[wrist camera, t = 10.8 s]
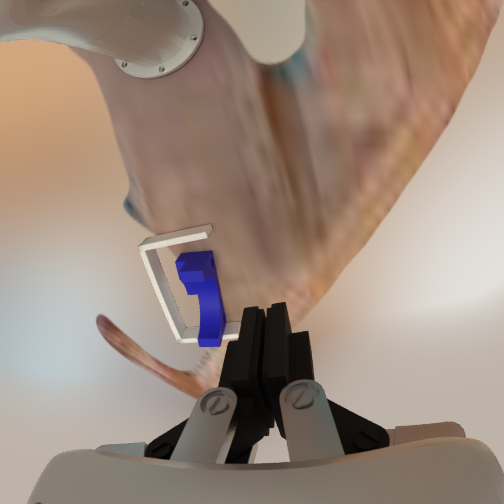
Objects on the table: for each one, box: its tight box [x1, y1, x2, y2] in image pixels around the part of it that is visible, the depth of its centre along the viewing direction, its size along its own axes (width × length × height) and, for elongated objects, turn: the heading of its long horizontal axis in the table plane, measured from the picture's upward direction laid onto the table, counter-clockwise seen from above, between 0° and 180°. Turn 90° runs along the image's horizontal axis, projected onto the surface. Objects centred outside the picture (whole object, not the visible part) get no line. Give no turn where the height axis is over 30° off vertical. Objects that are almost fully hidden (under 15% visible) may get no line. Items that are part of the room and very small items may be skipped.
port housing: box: [138, 224, 241, 343], centre depth 42 cm, size 17×10×3 cm, turn 12°
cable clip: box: [175, 251, 226, 347], centre depth 41 cm, size 12×4×6 cm, turn 7°
